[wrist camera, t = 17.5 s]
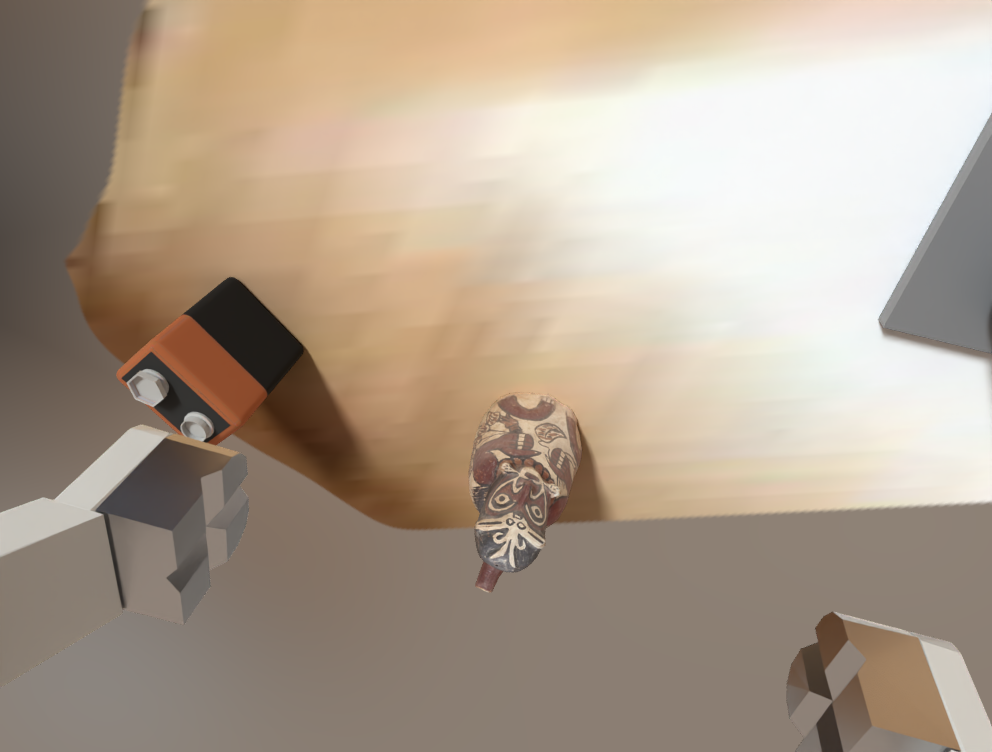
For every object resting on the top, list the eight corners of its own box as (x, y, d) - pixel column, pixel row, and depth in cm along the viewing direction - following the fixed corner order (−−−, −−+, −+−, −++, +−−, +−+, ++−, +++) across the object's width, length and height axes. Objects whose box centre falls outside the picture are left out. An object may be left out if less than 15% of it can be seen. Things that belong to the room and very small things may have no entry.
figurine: (604, 428, 46) (590, 565, 36) (547, 491, 50) (520, 630, 40) (513, 372, 45) (473, 497, 35) (461, 441, 49) (412, 571, 39)
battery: (234, 271, 45) (140, 348, 37) (308, 348, 47) (235, 436, 39) (196, 305, 47) (99, 385, 39) (269, 377, 49) (192, 467, 41)
